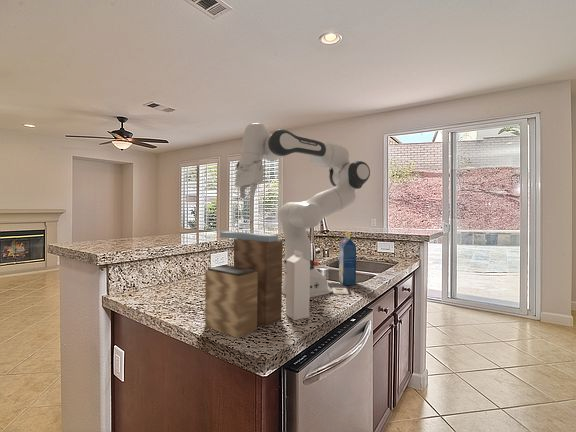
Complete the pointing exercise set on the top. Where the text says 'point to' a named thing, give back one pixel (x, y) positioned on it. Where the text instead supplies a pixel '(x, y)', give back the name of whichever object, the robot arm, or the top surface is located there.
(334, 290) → the chocolate bar
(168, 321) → the top surface
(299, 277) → the milk
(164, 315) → the top surface
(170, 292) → the top surface
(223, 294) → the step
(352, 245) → the blue food package
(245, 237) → the slat
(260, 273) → the stand
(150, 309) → the top surface
